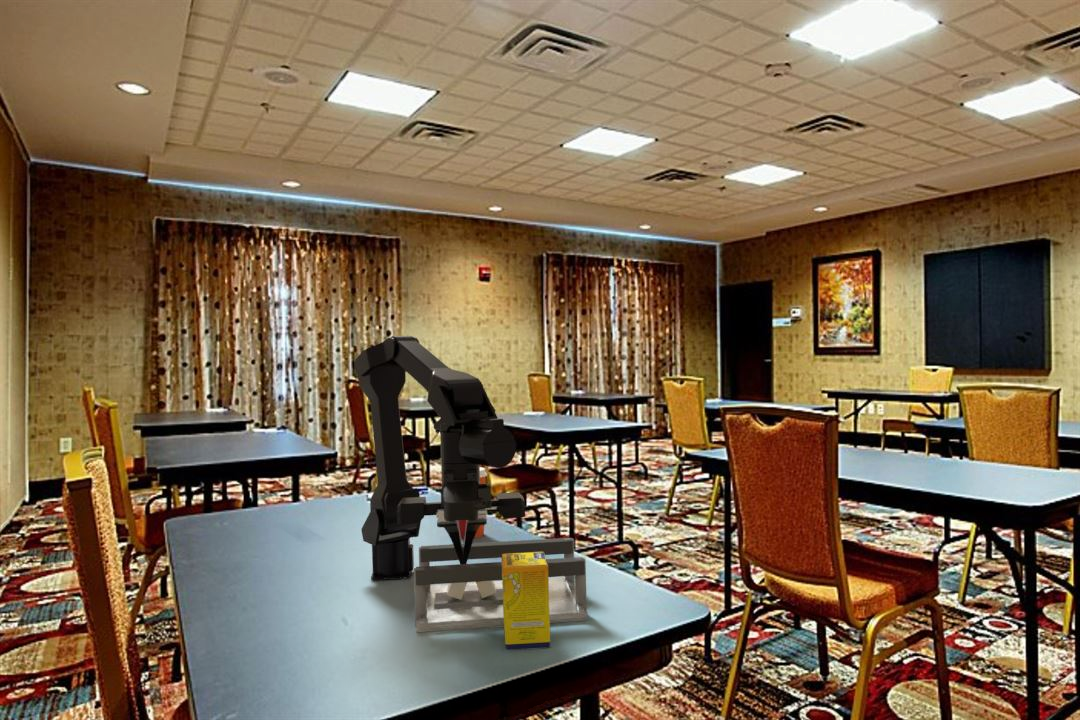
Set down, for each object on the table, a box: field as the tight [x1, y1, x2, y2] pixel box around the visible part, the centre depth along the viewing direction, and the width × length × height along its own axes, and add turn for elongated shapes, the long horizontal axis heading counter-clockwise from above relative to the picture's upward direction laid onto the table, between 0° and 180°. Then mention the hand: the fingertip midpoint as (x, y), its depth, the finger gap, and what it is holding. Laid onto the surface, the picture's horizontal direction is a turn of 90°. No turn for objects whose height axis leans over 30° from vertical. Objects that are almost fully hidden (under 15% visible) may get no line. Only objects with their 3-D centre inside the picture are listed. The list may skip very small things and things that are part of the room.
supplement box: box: [501, 552, 551, 652], centre depth 93 cm, size 6×6×11 cm
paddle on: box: [447, 582, 468, 600], centre depth 105 cm, size 2×3×3 cm, turn 6°
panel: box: [415, 576, 589, 633], centre depth 106 cm, size 24×16×2 cm, turn 96°
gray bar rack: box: [413, 537, 588, 627], centre depth 106 cm, size 25×13×8 cm, turn 96°
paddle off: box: [476, 581, 496, 598], centre depth 106 cm, size 2×3×3 cm, turn 6°
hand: (463, 564), depth 105 cm, fingers closed
